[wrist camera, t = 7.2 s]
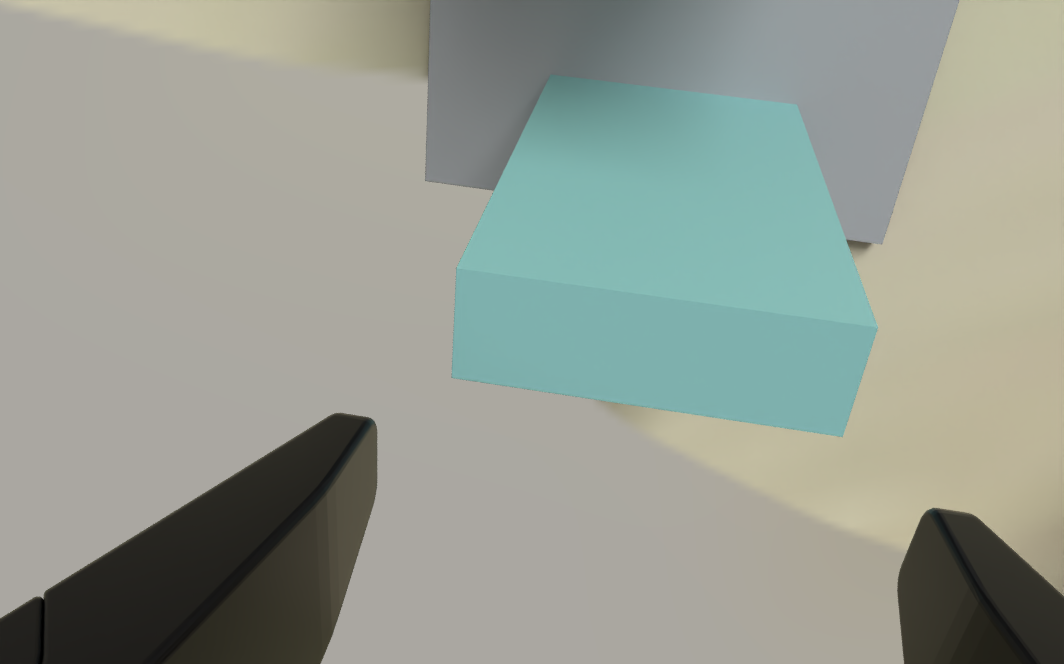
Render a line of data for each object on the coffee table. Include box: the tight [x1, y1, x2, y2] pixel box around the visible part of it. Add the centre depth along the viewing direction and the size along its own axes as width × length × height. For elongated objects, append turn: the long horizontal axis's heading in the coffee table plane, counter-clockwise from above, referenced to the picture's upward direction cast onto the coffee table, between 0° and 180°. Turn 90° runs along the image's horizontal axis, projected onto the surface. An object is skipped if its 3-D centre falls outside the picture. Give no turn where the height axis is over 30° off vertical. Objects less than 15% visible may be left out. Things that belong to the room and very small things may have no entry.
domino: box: [452, 75, 878, 437], centre depth 15 cm, size 2×5×9 cm, turn 86°
